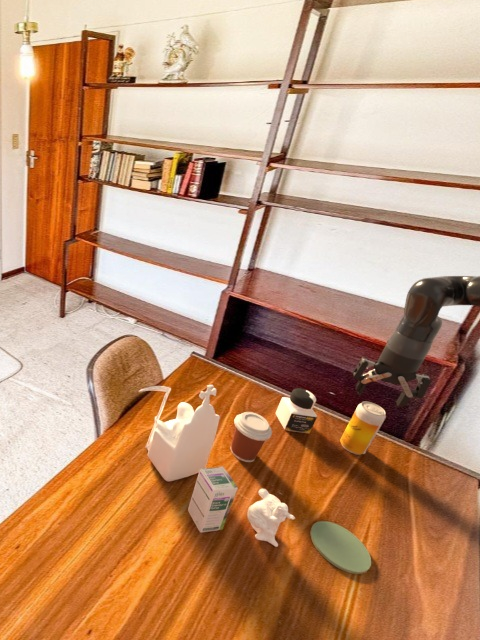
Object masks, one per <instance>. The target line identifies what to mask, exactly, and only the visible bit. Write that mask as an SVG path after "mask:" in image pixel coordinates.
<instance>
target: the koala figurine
mask: <svg viewBox="0 0 480 640" xmlns="http://www.w3.org/2000/svg"><path fill="white" fill-rule="evenodd" d="M257 493H258V495H259V497H260V498H262V499H261V500H258V501H255V502H254V503H253V504H251V505H250V506H249V507H248V509H247V514H246V515H247V517H246V518H247V520H248V522H249V524H250V526H251V527H252V530H254V531H255V532H256V533H255V535H254V538H255V539H256V540H258V541H264V542H267V543H269V544H270V545H272V546H274V547H275V548H277V547H279V543H278V542H277V539H276V537H275V536H276V534H277V532H278V530H279V526H280V525H281V523H282V522H285V521H286V518H287V519H289V520H292V521H293V520H296V517H295V516H294V515H293V514H291V513H290V512H289V507H288V505H287V504H286V503H285V502H281V500H280V499H279V498H278V497H277V496H275V495H274V494H271V493H269V491H268V490H267V489H266V488H259V490H258V492H257Z"/></svg>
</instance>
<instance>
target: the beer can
mask: <svg viewBox="0 0 480 640" xmlns="http://www.w3.org/2000/svg"><path fill="white" fill-rule="evenodd" d="M356 406H357V407H356V409H355V410H354V413H353V414H352V416H351V418H350V419H349V422H348V423H347V426H346V427H345V430H344V431H343V433H342V435H341V437H340V439H339V442H340V444H341V446H342V448H344V450H346V451H347V452H348V453H351V454H353V455H358V456H359V455H365V454H366V453H367V451H368V450H369V448H370V446H371V444H372V443H373V441H374V439H375V437H376V436H377V434H378V432H379V430H380V429H381V427H382V425H383V424H384V421H385V420H386V418H387V416H386V413H387V412H386V410H385V409H384V408H383V407H381V406H380V405H379V404H376V403H374V402H371V401H362V402H361V403H359V404H358V405H356Z"/></svg>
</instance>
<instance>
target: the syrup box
mask: <svg viewBox="0 0 480 640" xmlns="http://www.w3.org/2000/svg"><path fill="white" fill-rule="evenodd" d="M197 474H198V475H197V478H196V481H195V484H194V488H193V491H192V494H191V498H190V500H189V504H188V507H187V511H188V513H189V516H190V517H191V519H192V521H193V523H194V524H195V526H196V528H197V530H198V531H199V533H200V534H202V533H208V532H215V531H216V532H217V531H222V530H223V529H224V527H225V524H226V521H227V518H228V515H229V513H230V510H231V507H232V504H233V502H234V500H235V497H236V494H237V491H238V485H237V483H235V481H234V479H233V478H232V476H231V475H230V474H229V472H228V471H227V469H225V467H224V466H223V465H222V466H217V467H216V466H215V467H206V468H205V469H200V471H199V473H197Z"/></svg>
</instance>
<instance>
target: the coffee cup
mask: <svg viewBox="0 0 480 640" xmlns="http://www.w3.org/2000/svg"><path fill="white" fill-rule="evenodd" d="M233 422H234V426H235V427H234V429H233V436H232V439H231V444H230V447H229V448H230V452H231V454H232V455H233V456H234V457H235V458H236V459H238V460H239V461H242V462H245V463H251V462H254V461H255V460H256V458H257V456H258V455H259V453H260V451H261V449H262V447H263V446H264V444H265V442H266V441H268V440H270V439H271V437H272V435H273V431H272V427H271V425H270V423H269V421H268V420H267V419H266V418H265V417H264V416H262V415H260V414H259V413H256V412H253V411H243V412H242V413H239V414H237V415H236V416H235V418H234V420H233Z"/></svg>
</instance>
